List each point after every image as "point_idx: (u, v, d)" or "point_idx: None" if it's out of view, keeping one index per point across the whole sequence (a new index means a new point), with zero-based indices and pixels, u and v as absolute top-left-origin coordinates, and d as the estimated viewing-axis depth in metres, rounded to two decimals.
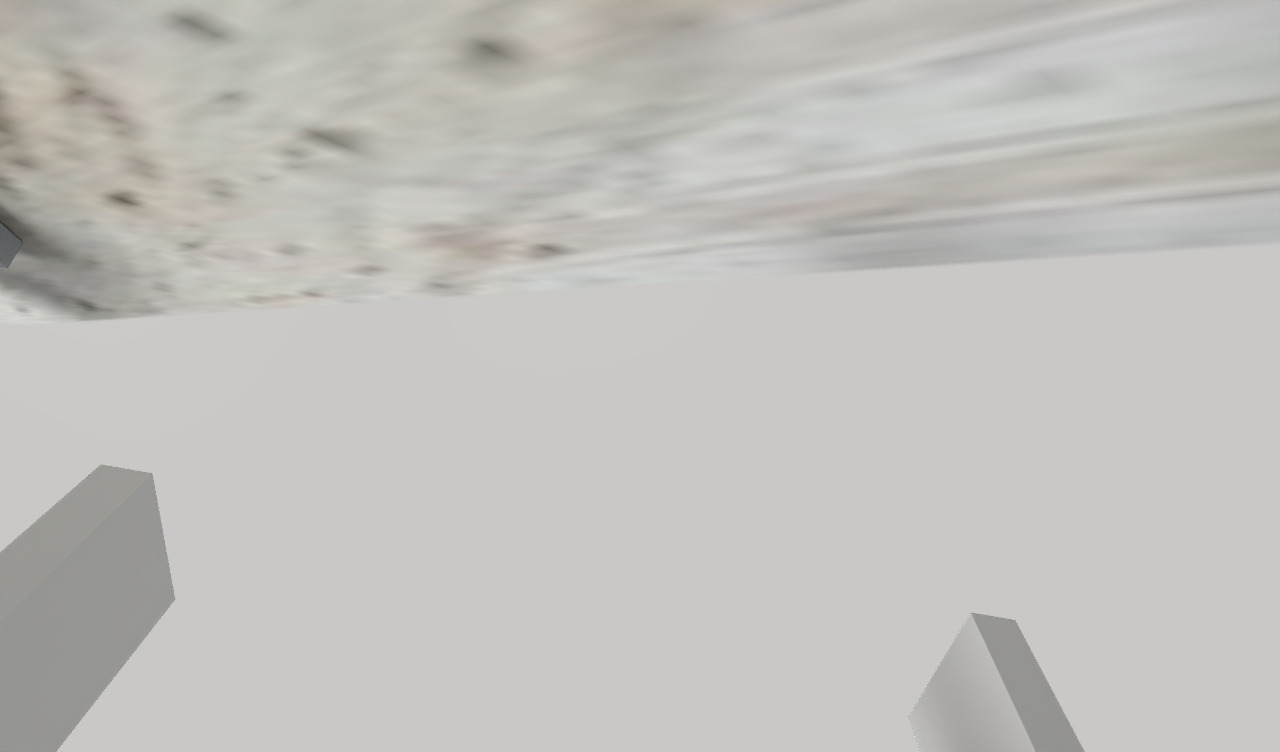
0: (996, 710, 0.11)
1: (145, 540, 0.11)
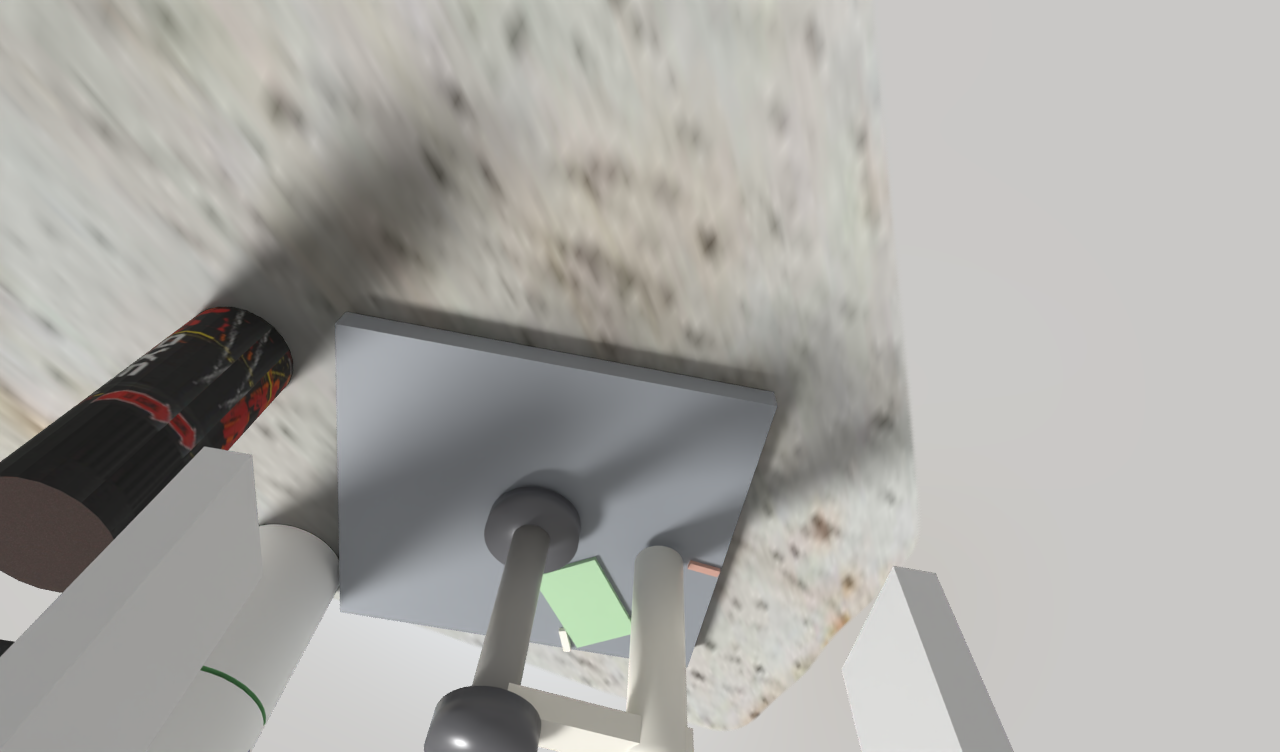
0: (909, 653, 0.11)
1: (244, 517, 0.12)
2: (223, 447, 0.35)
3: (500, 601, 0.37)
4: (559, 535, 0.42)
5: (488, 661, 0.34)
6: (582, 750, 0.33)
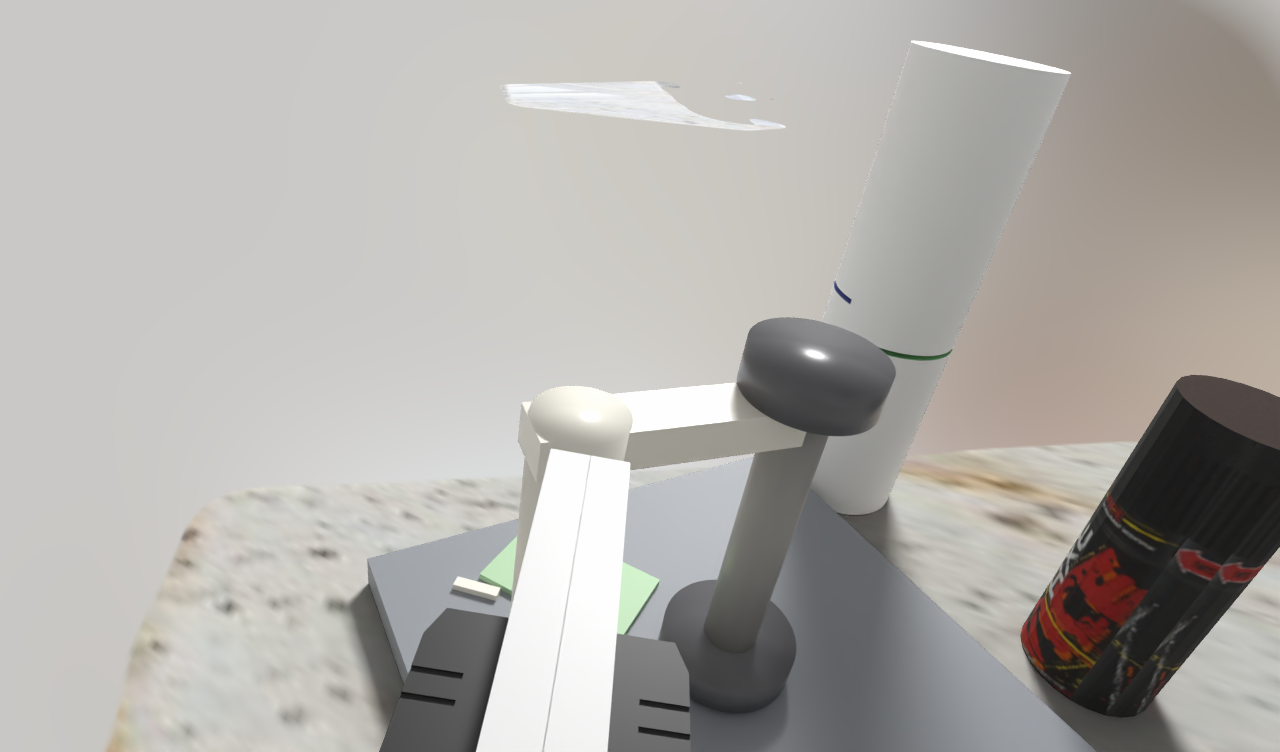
0: None
1: None
2: (1114, 564, 0.31)
3: None
4: (708, 656, 0.29)
5: (818, 461, 0.25)
6: (678, 397, 0.23)
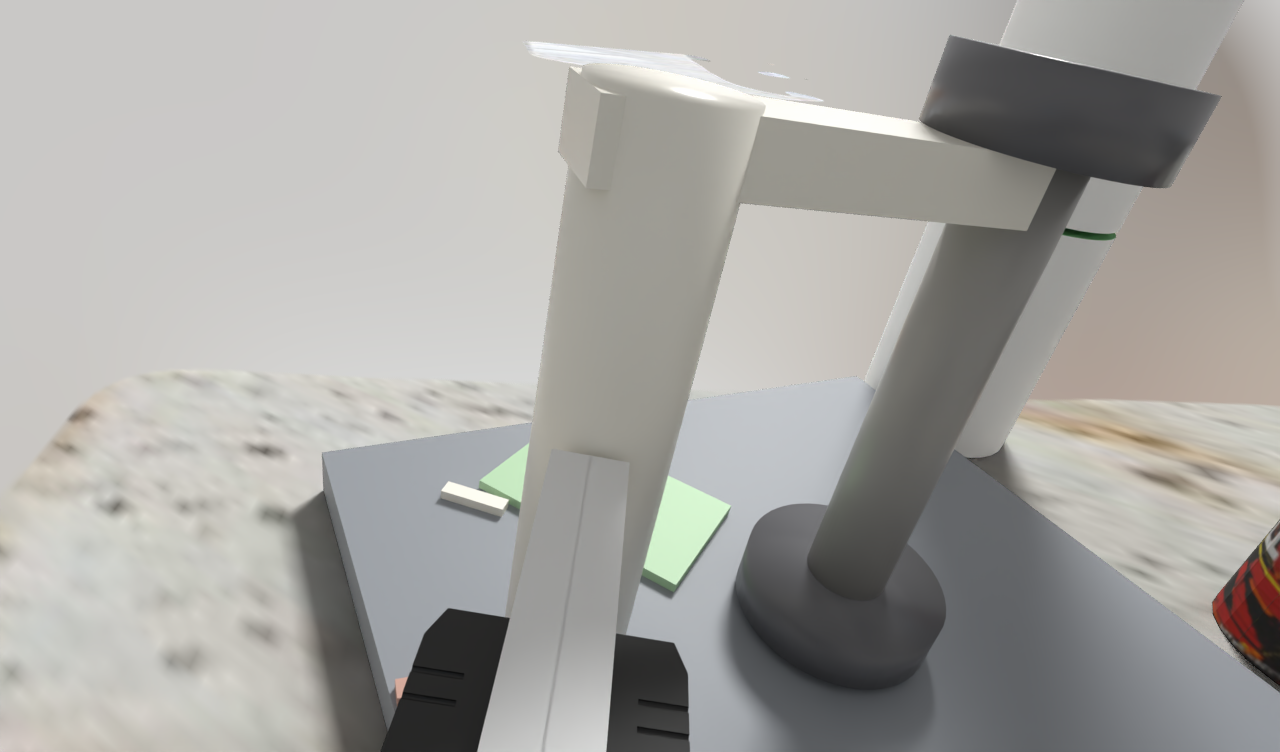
0: None
1: None
2: None
3: (968, 417, 0.17)
4: (816, 599, 0.19)
5: (1041, 274, 0.15)
6: (833, 112, 0.13)
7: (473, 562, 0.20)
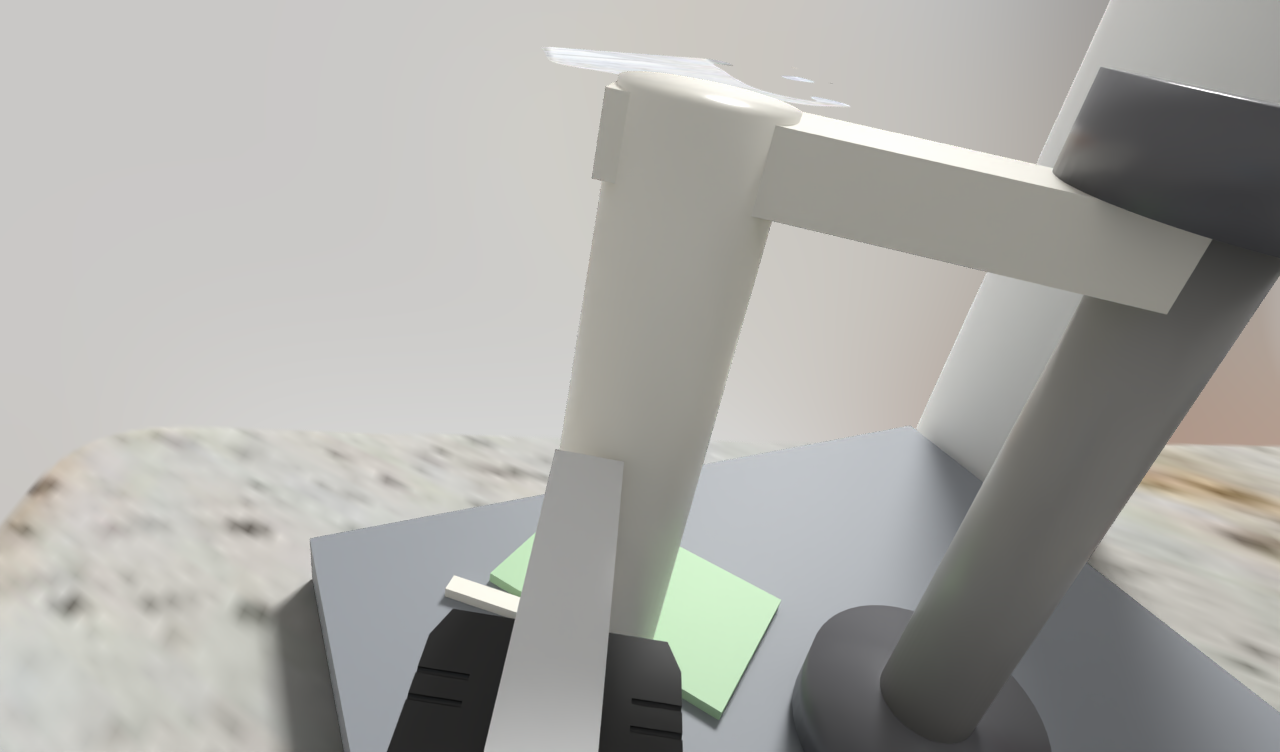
0: None
1: None
2: None
3: None
4: (867, 713, 0.16)
5: (1203, 381, 0.11)
6: (913, 141, 0.12)
7: None
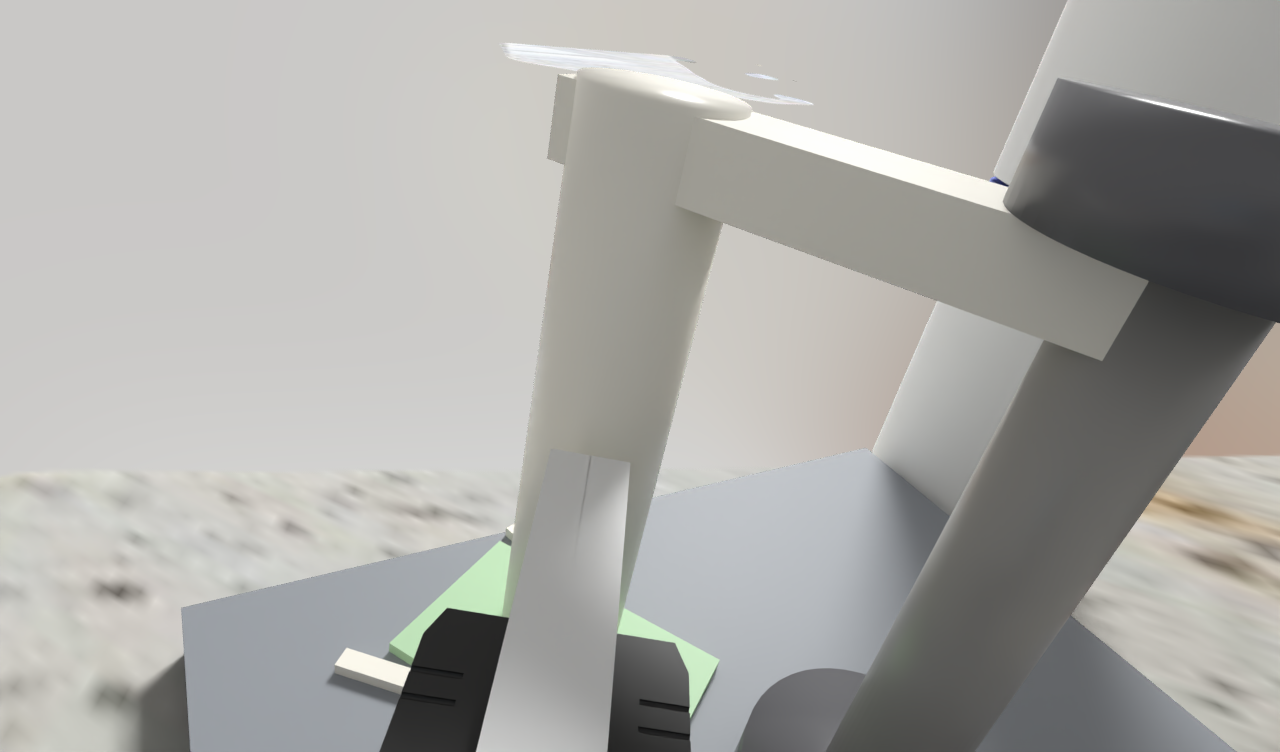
0: None
1: None
2: None
3: (1042, 645, 0.11)
4: None
5: (1160, 453, 0.09)
6: (862, 149, 0.11)
7: None
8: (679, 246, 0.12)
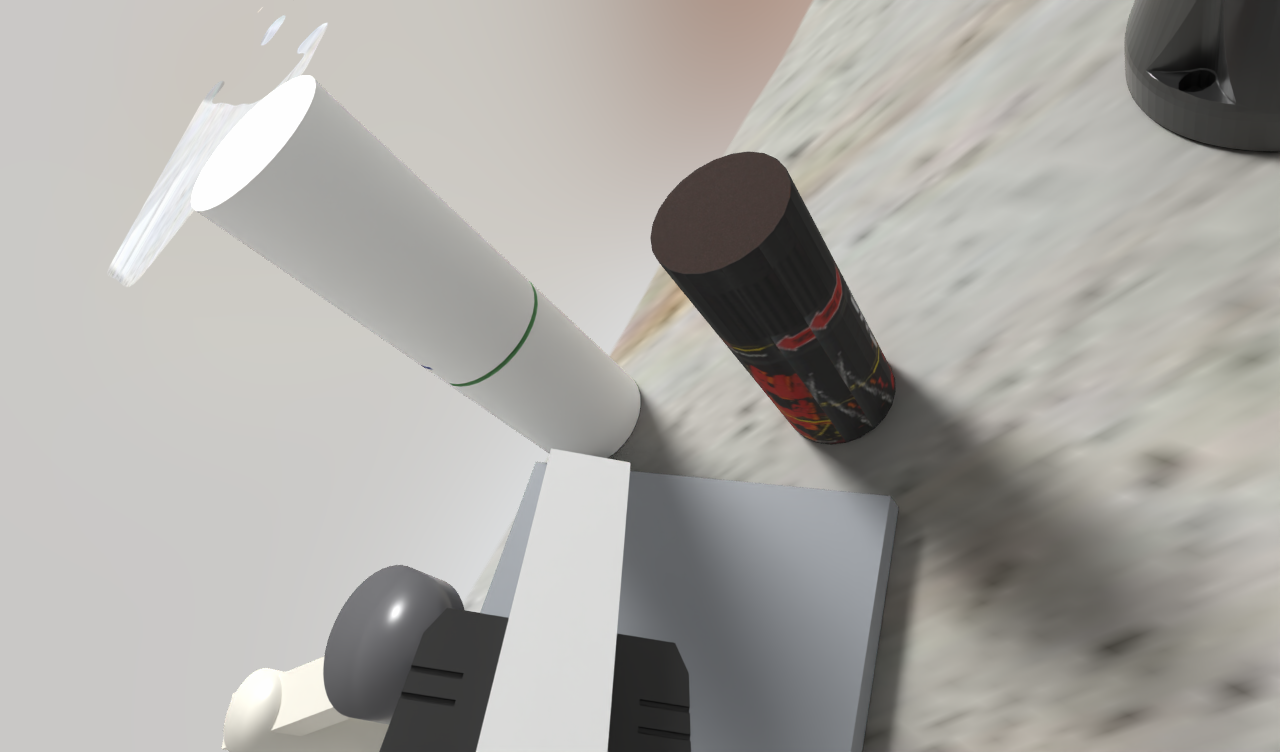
0: None
1: None
2: (763, 373, 0.32)
3: None
4: None
5: None
6: (319, 671, 0.27)
7: None
8: (320, 732, 0.28)
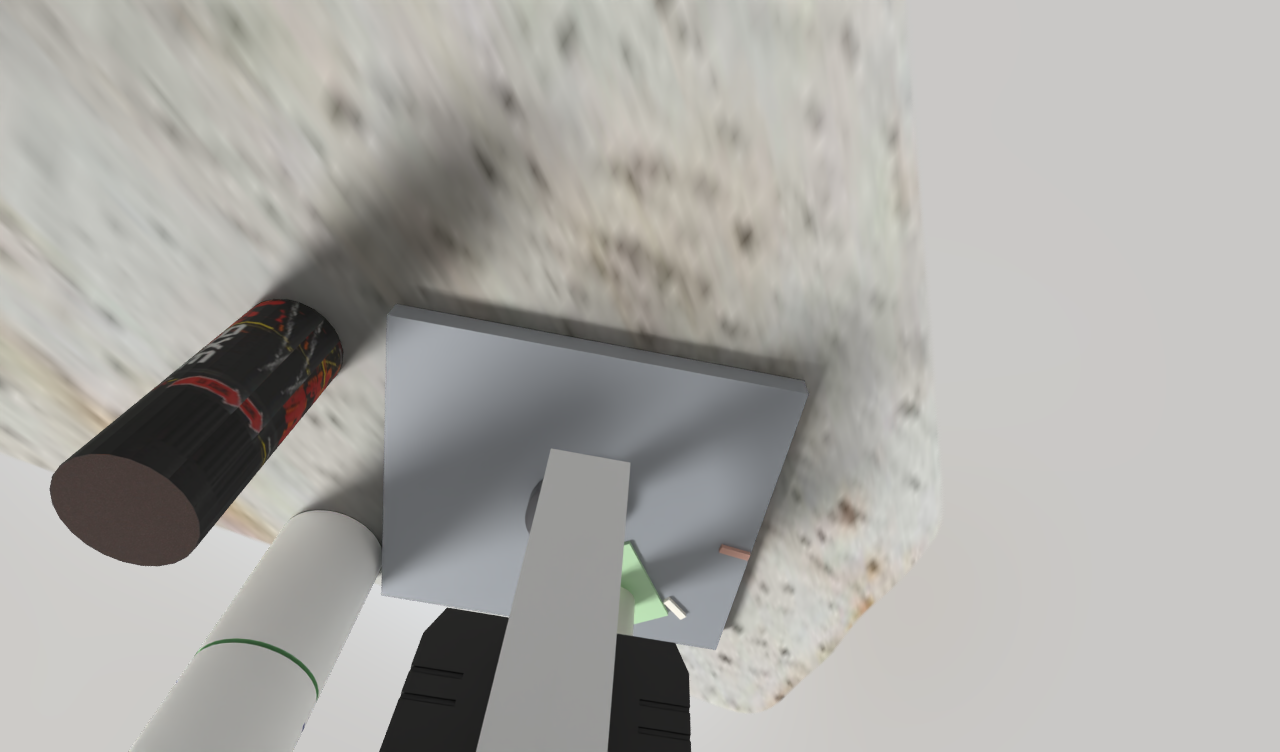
0: None
1: None
2: (284, 431, 0.37)
3: None
4: None
5: None
6: None
7: (693, 584, 0.49)
8: None
